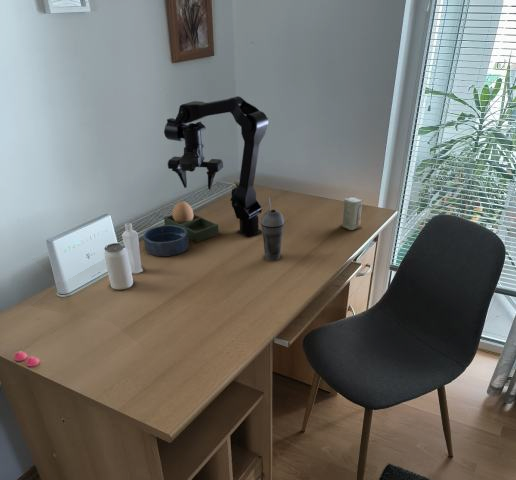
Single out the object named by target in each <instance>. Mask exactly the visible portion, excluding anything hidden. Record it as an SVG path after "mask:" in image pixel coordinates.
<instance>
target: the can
mask: <svg viewBox="0 0 516 480" xmlns="http://www.w3.org/2000/svg"><path fill="white" fill-rule="evenodd" d="M103 256H104V260H105V266H106V270H107V275H108V279H109V283H110V287H111V288H112V289H114V290H117V291H124V290H127V289H130V288H131V287H132V286H133V284H134V280H133V273H131V267H130V262H129V257H128V252H127V249H126V248H125V245H124V243H121V242H115V243H110V244H109V243H108V244H106V245H105V246H104V253H103Z"/></svg>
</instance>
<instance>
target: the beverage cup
mask: <svg viewBox="0 0 516 480" xmlns="http://www.w3.org/2000/svg"><path fill="white" fill-rule="evenodd" d="M267 202H268V210H266V212H264V213H263V215H262V217H261V221H260V226H261V231H262V238H263V239H262V240H263V247H264V256H265V259H266V260H267V261H269V262H276V261H278V260H280V258H281V257H280V256H281V251H282V241H283V231H284V227H285V219H284V216H283V214H282V213H281V212H280V211H278V209H277V210H276V209H272V207H271V198H270V195H267Z"/></svg>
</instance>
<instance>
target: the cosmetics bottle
mask: <svg viewBox="0 0 516 480" xmlns="http://www.w3.org/2000/svg"><path fill="white" fill-rule="evenodd" d="M362 208H363V199H360V198H358V197H355V196H350V197H346V198H343V207H342V222H341V227H343V228H345V229H347V230H349V231H353V230H357V229H360V228H361V221H362V220H361V219H362V210H363V209H362Z"/></svg>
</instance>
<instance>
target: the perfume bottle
mask: <svg viewBox="0 0 516 480" xmlns="http://www.w3.org/2000/svg"><path fill="white" fill-rule="evenodd" d="M124 228H125V230H124V232H123V233H122V234H121V238H122V241H123V244H124V245H125V248H126V249H127V252H128V257H129V262H130V267H131V273H132V274H140V273H142V272H144V269H143V267H142V263H141V253H140V242H139V241H140V240H139V233H138V232H137V231H136V229H135V230H134V229H133V224H132V223H131V222H128V223H127V222H126V223H125V224H124Z"/></svg>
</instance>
